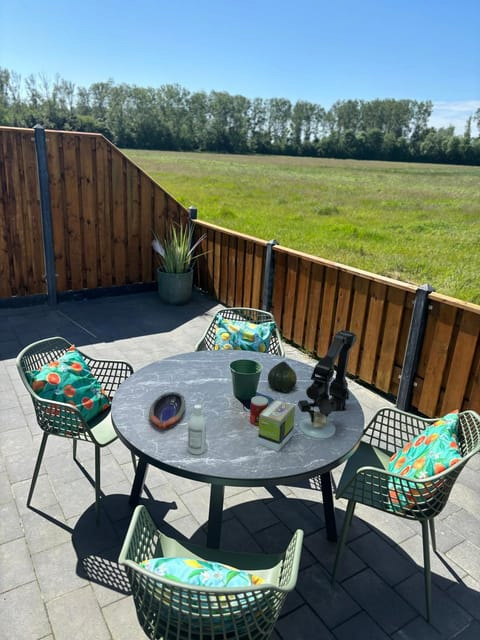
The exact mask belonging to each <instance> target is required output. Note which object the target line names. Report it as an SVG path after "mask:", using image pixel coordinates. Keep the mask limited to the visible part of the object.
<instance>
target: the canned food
mask: <svg viewBox="0 0 480 640" xmlns="http://www.w3.org/2000/svg"><path fill="white" fill-rule="evenodd" d="M250 400H251V401H250V411H249V414H250V416H249V421H250V423H251V424H252V425H253V426H256V427H259V415H260V413H262V412H263V411H264V410H265V409H266V408H267V407H268V406H269V399H268V398H267V397H264V396H261V395H260V396H259V395H255V396H254V397H252V398H251V399H250Z"/></svg>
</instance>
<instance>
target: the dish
mask: <svg viewBox="0 0 480 640" xmlns="http://www.w3.org/2000/svg"><path fill="white" fill-rule="evenodd" d="M185 409H186V399H185V396H184V395H182V394H181V393H179V392H177V391H169V392H166V393H163V394H161V395H159V396H158V397H157V398H156V399H154V401H153V402H152V404H151V405H150V407H149V410H148V414H149V415H148V417H149V419H150V421H151V422H152V424H154V426H156V427H157V428H159V429H163V430H167V429H168V430H169V429H170V428H171V427H173V426H175V425H176V424H177V423H179V421H180V420H181V419H182V417H183V414H184V413H185Z"/></svg>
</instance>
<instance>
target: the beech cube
mask: <svg viewBox="0 0 480 640" xmlns="http://www.w3.org/2000/svg"><path fill="white" fill-rule="evenodd" d="M314 411H315V410H314ZM326 420H327V418H326V416H325V414H321V413H320V410H317V411H315V413H314V421H313V423H312V422H311V423H312V425H313V426H314V427H325V423H326Z"/></svg>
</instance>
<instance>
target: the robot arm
mask: <svg viewBox="0 0 480 640" xmlns="http://www.w3.org/2000/svg"><path fill="white" fill-rule="evenodd" d="M357 338H358V337H357V335H356V333H355V332H352V331H348V330H344V329H341V330H340V331H336V333H335V334H334V337H333V339H332V343H331V344H330V346H329V349H328V350H327V352H326V354H325V356H324V357H322V358H320V359H319V360H318V362H317V363H316V364H315V365H314V369H313V370H312V371H313V372H312V373H311V376H310V380H311V381H313V382H312V383H311V385H309V387H307V388H306V391H305V393H306V397H308V399H310V400H311V401H313V402H309V401H308V400H307V399H302V400H298V402H297V407H298V409H299V410H300V412H302V413H308V414H309V417H310V418H311V422H312V423H313V421H314V413H315V410H314V408H318V411H320V413H321V414H325V416H326V419H327V418H328V416H329V415H331V414H332V413H333V412H339V411H341V412H342V411H346V410H347V408H346V402H347V401H348V400H349V399H350V390H349V388H348V387H349V384H348V381H347V379H346V377H347V371H348V366H349V359H350V353H351V352H350V351H351V349H352V348H354V346H355V344H356V343H357V340H358V339H357ZM336 360H337V363H336ZM335 363H336V364H337V365H336V372H335V365H334V364H335ZM334 375H335V376H334ZM333 377H334V379H333ZM330 396H331V397H330Z"/></svg>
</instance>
